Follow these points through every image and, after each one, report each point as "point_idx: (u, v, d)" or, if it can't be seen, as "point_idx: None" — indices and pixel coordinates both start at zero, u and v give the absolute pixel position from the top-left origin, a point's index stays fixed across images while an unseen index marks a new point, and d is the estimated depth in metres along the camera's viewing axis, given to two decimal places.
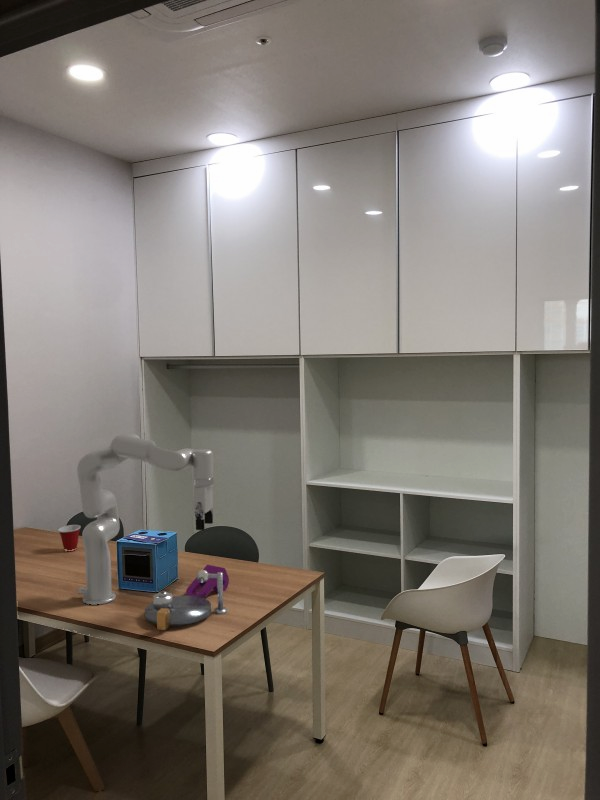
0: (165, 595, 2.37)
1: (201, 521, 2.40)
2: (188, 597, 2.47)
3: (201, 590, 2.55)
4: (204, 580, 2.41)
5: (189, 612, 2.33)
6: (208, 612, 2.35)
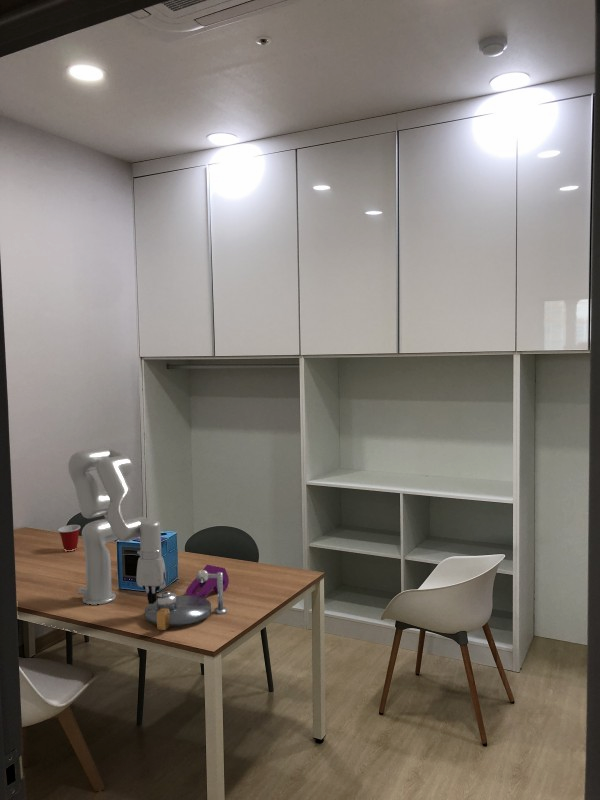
0: (169, 595, 2.37)
1: None
2: (188, 597, 2.47)
3: (201, 590, 2.55)
4: (204, 580, 2.41)
5: (189, 612, 2.33)
6: (208, 612, 2.35)
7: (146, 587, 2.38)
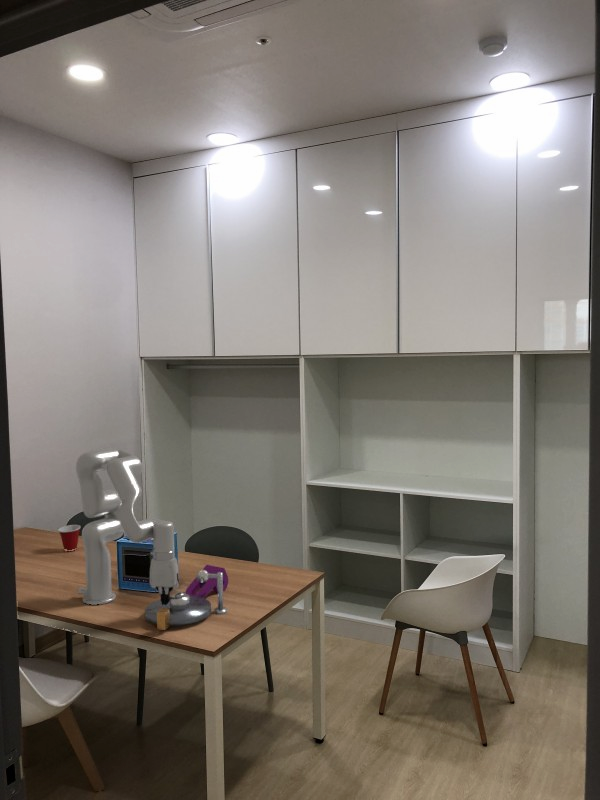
0: (182, 596, 2.36)
1: None
2: None
3: (201, 590, 2.55)
4: (204, 580, 2.41)
5: (189, 612, 2.33)
6: (208, 612, 2.35)
7: (159, 588, 2.37)
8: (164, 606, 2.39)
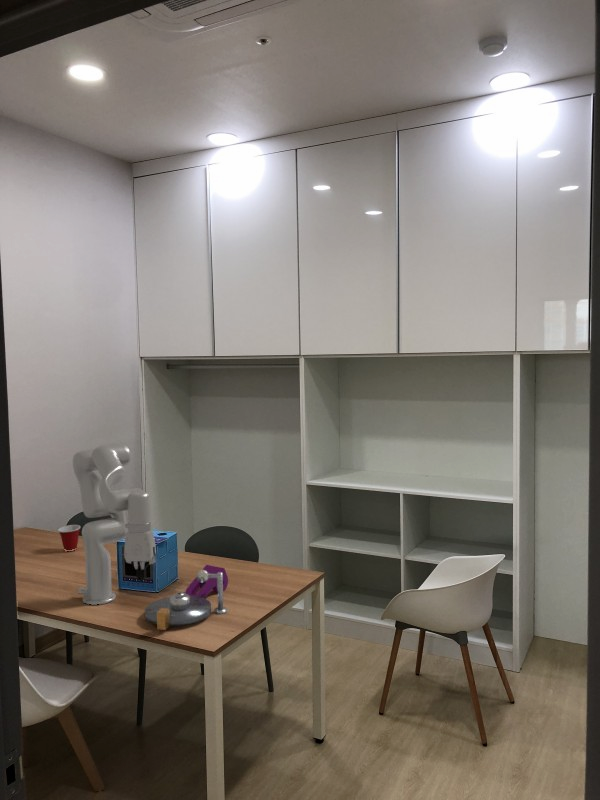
0: (182, 596, 2.36)
1: None
2: None
3: (201, 590, 2.55)
4: (204, 580, 2.41)
5: (189, 612, 2.33)
6: (208, 612, 2.35)
7: (135, 563, 2.24)
8: (164, 606, 2.39)
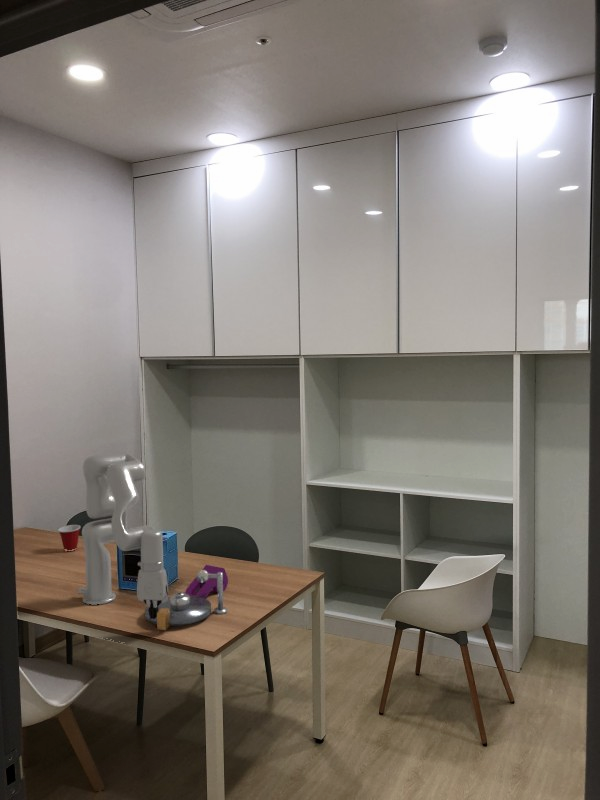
0: (182, 596, 2.36)
1: None
2: None
3: (201, 590, 2.54)
4: (204, 580, 2.41)
5: (189, 612, 2.33)
6: (208, 612, 2.35)
7: (147, 601, 2.24)
8: (164, 606, 2.39)
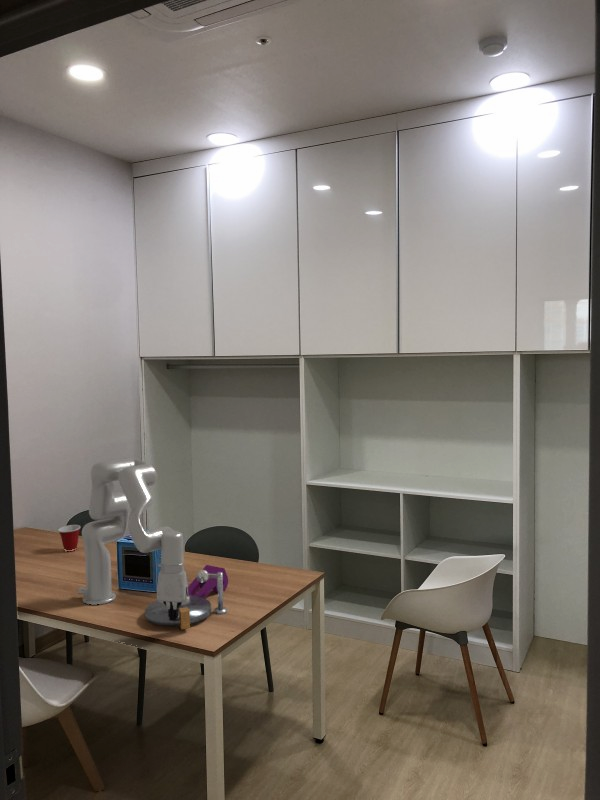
0: None
1: None
2: None
3: (201, 590, 2.54)
4: (204, 580, 2.41)
5: (195, 608, 2.36)
6: (210, 605, 2.41)
7: (167, 603, 2.22)
8: (163, 609, 2.36)
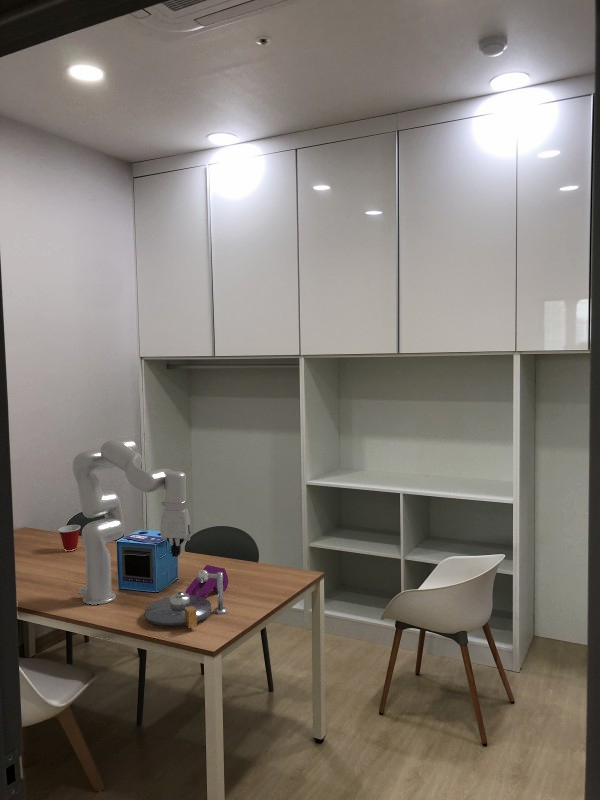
0: (184, 595, 2.38)
1: None
2: (169, 598, 2.46)
3: (201, 590, 2.54)
4: (204, 580, 2.41)
5: (196, 607, 2.37)
6: None
7: (170, 539, 2.32)
8: (164, 610, 2.35)
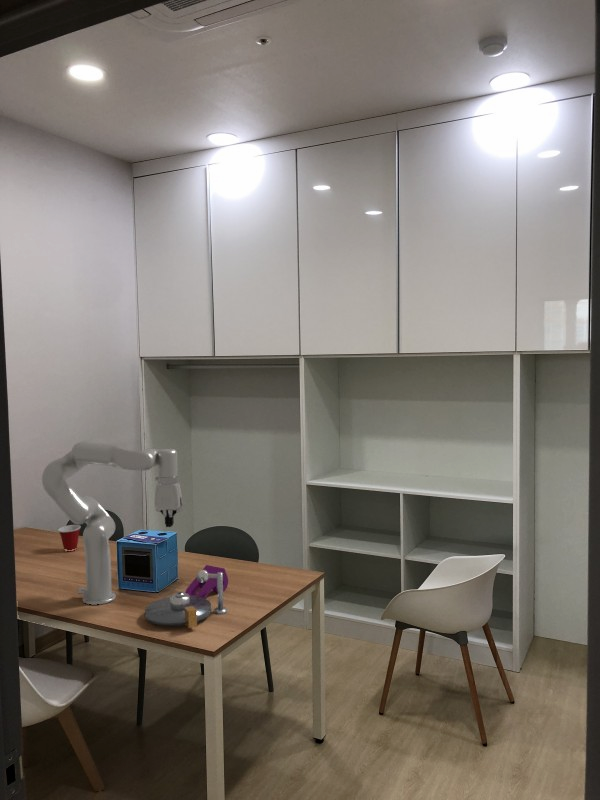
0: (184, 595, 2.38)
1: None
2: (169, 598, 2.46)
3: (201, 591, 2.54)
4: (204, 580, 2.41)
5: (196, 607, 2.37)
6: None
7: (164, 511, 2.53)
8: (164, 610, 2.35)
